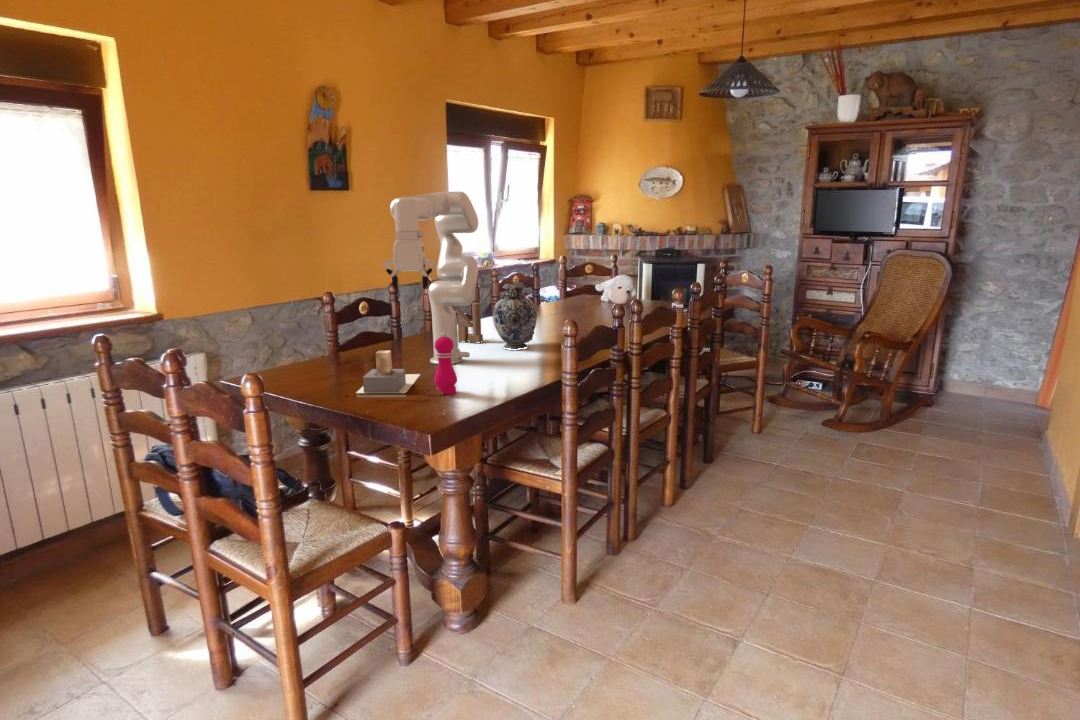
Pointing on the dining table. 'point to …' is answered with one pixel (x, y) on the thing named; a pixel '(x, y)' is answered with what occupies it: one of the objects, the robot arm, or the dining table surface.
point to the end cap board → (386, 383)
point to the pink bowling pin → (445, 366)
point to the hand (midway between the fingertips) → (410, 288)
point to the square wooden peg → (384, 362)
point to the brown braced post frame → (470, 325)
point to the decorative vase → (515, 316)
